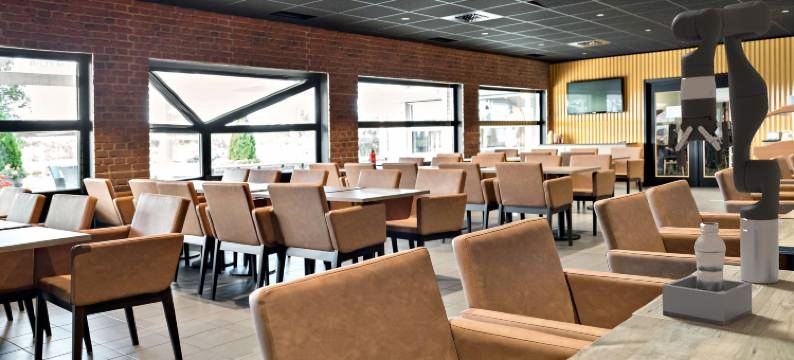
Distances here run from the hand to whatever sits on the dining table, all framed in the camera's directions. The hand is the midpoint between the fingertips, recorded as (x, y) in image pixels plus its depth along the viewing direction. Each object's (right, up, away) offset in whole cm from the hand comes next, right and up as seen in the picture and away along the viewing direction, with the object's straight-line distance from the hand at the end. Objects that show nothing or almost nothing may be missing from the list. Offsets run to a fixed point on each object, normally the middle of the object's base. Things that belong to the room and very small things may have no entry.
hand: (700, 166), depth 158 cm
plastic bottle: (+1, -33, -3) cm, 33 cm away
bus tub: (0, -34, -3) cm, 34 cm away
